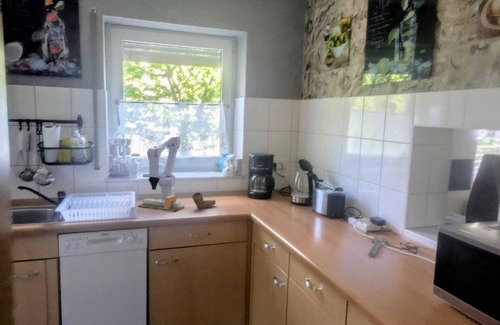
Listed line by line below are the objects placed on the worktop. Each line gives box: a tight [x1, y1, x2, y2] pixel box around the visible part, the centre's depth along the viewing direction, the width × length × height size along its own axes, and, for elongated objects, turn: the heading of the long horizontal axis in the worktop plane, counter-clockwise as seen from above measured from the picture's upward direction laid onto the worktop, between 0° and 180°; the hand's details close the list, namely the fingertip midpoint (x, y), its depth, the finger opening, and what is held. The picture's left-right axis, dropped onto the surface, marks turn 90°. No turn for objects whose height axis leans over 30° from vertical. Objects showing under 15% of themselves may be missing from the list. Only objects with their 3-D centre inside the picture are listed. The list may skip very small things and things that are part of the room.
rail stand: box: [137, 198, 185, 213], centre depth 210 cm, size 26×10×4 cm, turn 71°
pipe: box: [191, 191, 216, 210], centre depth 212 cm, size 6×17×10 cm, turn 133°
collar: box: [165, 194, 177, 208], centre depth 208 cm, size 3×8×6 cm, turn 161°
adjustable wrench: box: [367, 237, 389, 259], centre depth 152 cm, size 25×6×2 cm, turn 146°
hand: (154, 189), depth 212 cm, fingers closed
